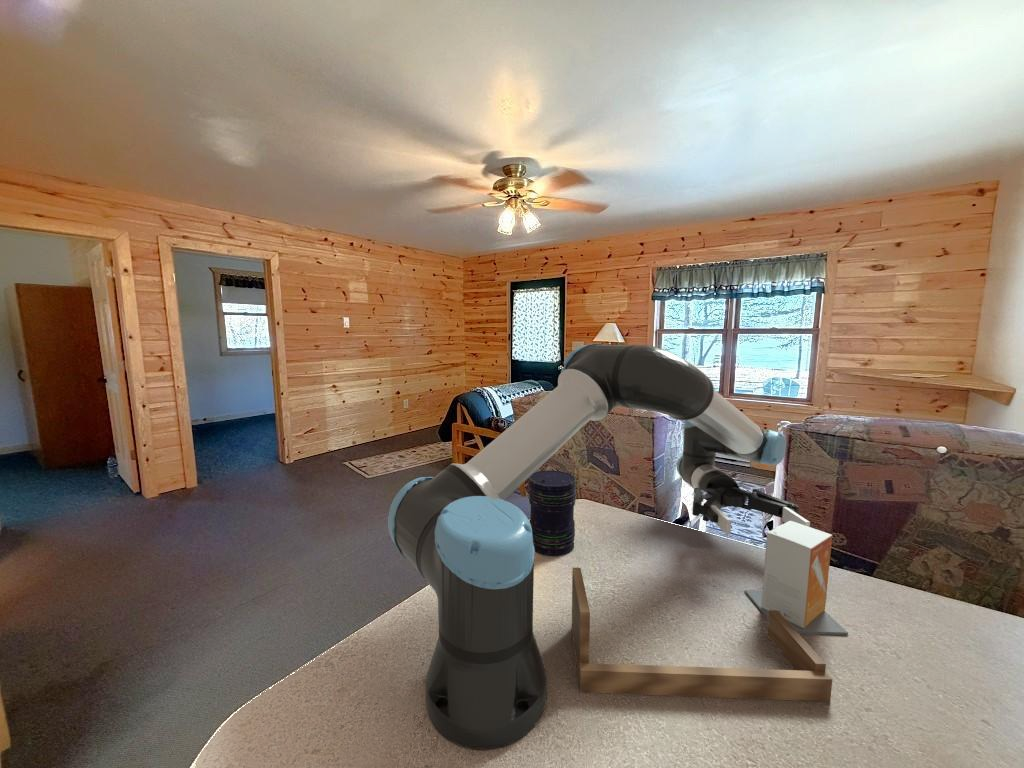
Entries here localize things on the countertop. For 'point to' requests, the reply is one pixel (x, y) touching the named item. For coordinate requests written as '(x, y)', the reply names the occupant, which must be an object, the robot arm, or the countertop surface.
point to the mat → (817, 626)
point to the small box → (796, 572)
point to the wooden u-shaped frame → (702, 681)
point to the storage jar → (552, 512)
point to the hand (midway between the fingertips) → (768, 528)
